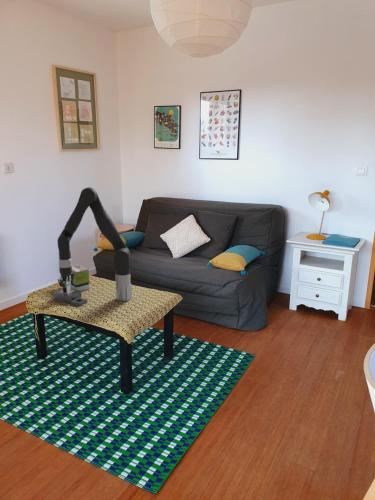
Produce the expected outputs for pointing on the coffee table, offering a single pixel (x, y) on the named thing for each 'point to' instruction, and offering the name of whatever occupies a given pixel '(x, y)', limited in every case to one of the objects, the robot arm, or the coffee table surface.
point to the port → (66, 295)
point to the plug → (68, 286)
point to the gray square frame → (78, 302)
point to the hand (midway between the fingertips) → (66, 291)
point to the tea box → (80, 278)
